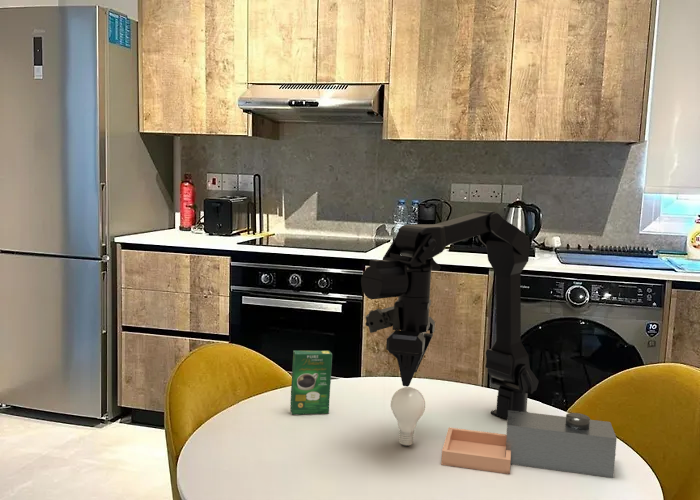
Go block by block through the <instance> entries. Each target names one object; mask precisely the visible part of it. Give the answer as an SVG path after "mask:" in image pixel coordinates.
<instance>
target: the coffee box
mask: <svg viewBox="0 0 700 500" xmlns="http://www.w3.org/2000/svg"><path fill="white" fill-rule="evenodd" d="M292 351H293V352H292V353H293V354H292V355H293V356H292V367H291V369H292V371H291V387H290V388H291V389H290V404H289V405H290V414H291V415H294V416H295V415H323V414H324V415H325V414H329V413H330V399H331V398H330V396H331V382H332V380H331V379H332V368H333V367H332V365H333V363H332V362H333V353H332V352H331V351H330V350H292Z"/></svg>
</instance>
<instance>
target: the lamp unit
mask: <svg viewBox="0 0 700 500" xmlns="http://www.w3.org/2000/svg"><path fill="white" fill-rule="evenodd" d="M528 412H529V411H527V412H520V411H511V410H508V419H506V450H511V461H510V465H514V466H522V467H528V468H529V467H531V468H537V469H545V470H550V471H551V470H552V471H559V472H566V473H567V472H568V473H574V474H581V475H589V476H595V477H605V478H610V479H614V475H615V474H614V473H615V472H614V471H615V461H616V451H617V441H618V440H617V439H618V438H617V435H616V433H615V430H614V428H613V426H612V422H610V421H606V420H605V421H603V420H597V419H596V420H594V419H591V418H590V416H588V415H586V414H583V413H580V412H568V413H566V414H565V416H562V415H552V414H551V415H550V414H546V413H545V414H543V413H535V412H529V413H528ZM505 457H506V451H505Z"/></svg>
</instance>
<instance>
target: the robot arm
mask: <svg viewBox="0 0 700 500" xmlns="http://www.w3.org/2000/svg"><path fill="white" fill-rule="evenodd" d="M397 230H398V231H397V233H396V236H395V238H394V239H393V241H392V243H391V244H390V246H389V247H388V249H387V251H386V252H385V253H384V255H383V258H382V259H370V260H369V266H368V267H366V268H365V270H364V271H363V273H362V276H361V279H360V286H361V290H362V292H363V294H364V296H366V298H368V299H369V300H378V299H389V298H390V299H391V298H397V299H396V300H395V302H394V303H393V304H394V305H393V306H389V307H385V308H382V309H380V308H376V309H371V310H370V311H369V312H368V314H367V315H365V320H366V321H365V326H366V327H368V329H369V332H370V333H371V334H372V333H376V332H378V331H381V330H384V329H387V328H391V327H392V331H393V330H394V331H393V332H391V333H390V334H389V335H388V337H387V338H386V345H385V350H387V351H388V353H389V354H390V355H392V356H394V357H395V359H396V360H397V365H398V369H399V374H400V380H401V385H402V386H403V387H410V384H411V382H412V380H413V378H414V376H415V373H418V369H419V368H420V365H421V362H422V360H423V359H424V356H425V354H426V352H427V350H428V347H429V345H430V343H431V341H432V338H433V337H434V333H435V330H436V329H435V326H436V325H435V324H436V321H435V320H434V319H433V317H431V316H430V306H431V305H432V299H430V298H431V283H432V281H431V280H432V271H439V270H440V269H441V266H440V265H439V263H438V262H437V261H436V260H434V257H437V256H438V255H440V254H442V253H443V251H445V250H446V249H445V248H447V247H449V246H450V245H452V244H456V243H459V242H461V241H465V240H469V239H471V238H474V237H477V236H478V240H479V241H480V243H482V245H484V246H485V248H486V253H487V261H488V262H489V265H490V266H491V268H492V270H493V272H494V273H495V342H494V343H493V345H492V346H491V348H489V349H486V351H485V357H486V364H485V368H486V369H487V372H488V375H489V380H490V383H491V384H493V385H496V386H498V388H497V395H496V396H497V397H496V408H495V409H493V410H490V414H491V415H493V416H496V417H500V418H502V419H504V420H507V419H508V410H511V411H520V412H528V413H530V412H529V411H527V408H528V395H529V394H531V395H532V394H534V392H535V391H537V388H538V385H539V382H540V380H539V379H538V378H537V376H536V375H535V373H534V372H533V370H531V366H530V356H529V354H528V351H527V350H526V348H525V346H524V344H523V342H522V341H521V337H522V336H521V334H522V333H521V332H522V331H521V324H522V323H521V318H522V315H521V314H522V310H521V307H522V306H521V304H522V303H521V301H522V299H521V291H522V290H521V286H522V284H521V282H522V281H521V280H522V279H521V277H522V272H523V271H524V269H525V267H526V265H527V264H528V262H529V260H530V259H529V258H530V250H531V249H530V248H531V239H530V237H529V236H528V235H527V234H526V233H525V232H523V231H521V229H520V228H519V227H517V226H516V225H514V224H512V223H511V222H509V221H507V220H505V219H504V218H503V217H502V216H501V214H499V213H498V212H496V211H491V210H490V211H489V210H477V211H474V212H473V213H469V214H466V215H463V216H460V217H456V218H452V219H448V220H445V221H441V222H438V223H435V224H434V223H433V224H430V223H429V224H427V223H426V224H422V223H421V224H420V223H419V224H418V223H417V224H404V225H402V226H400V227H399V228H398V229H397ZM428 331H429V333H427V332H428Z"/></svg>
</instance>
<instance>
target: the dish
mask: <svg viewBox="0 0 700 500" xmlns="http://www.w3.org/2000/svg"><path fill="white" fill-rule="evenodd" d="M506 434H507V433H506ZM506 434H504V433H495V432H490V431H489V432H488V431H487V432H486V431H482V430H481V431H480V430H474V429H473V430H472V429H463V428H458V427H450V426H449V427H448V429H447V432H446V435H445V440H444V444H443V446H442V449H441V463H440V464H441V466H447V467H456V468H464V469H470V470H476V471H477V470H478V471H484V472H491V473H497V474H500V473H501V474H505V475H506V474H507V475H510V473H511V464H510V461H511V450H506ZM505 451H506V457H505Z"/></svg>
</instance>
